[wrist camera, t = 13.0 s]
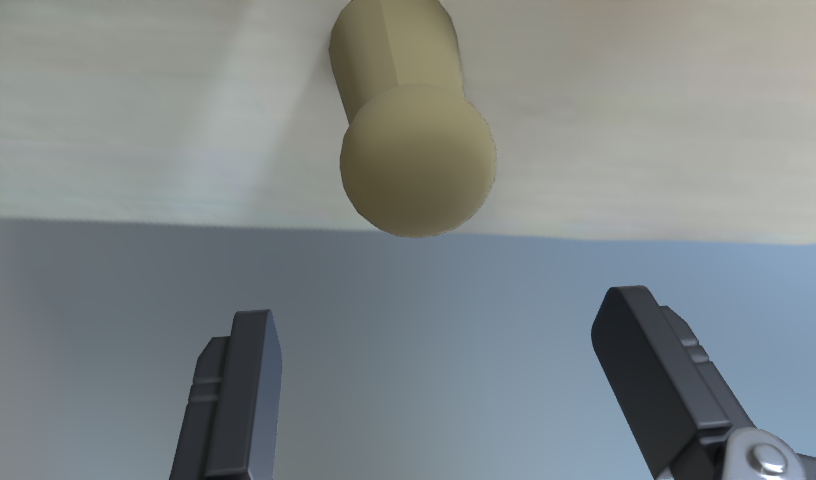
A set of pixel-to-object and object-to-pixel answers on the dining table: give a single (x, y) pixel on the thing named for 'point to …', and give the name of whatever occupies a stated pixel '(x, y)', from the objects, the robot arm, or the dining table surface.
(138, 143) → the dining table surface
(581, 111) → the dining table surface
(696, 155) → the dining table surface
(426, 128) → the cork
